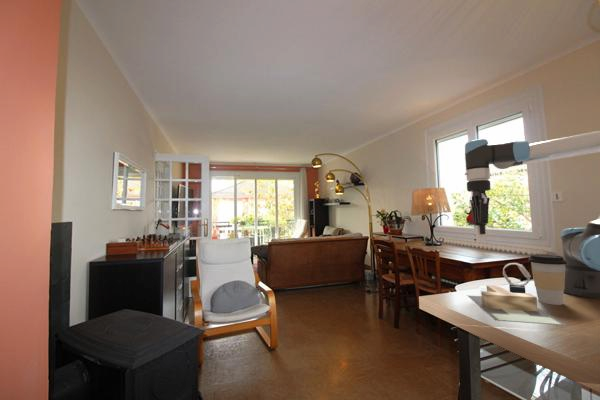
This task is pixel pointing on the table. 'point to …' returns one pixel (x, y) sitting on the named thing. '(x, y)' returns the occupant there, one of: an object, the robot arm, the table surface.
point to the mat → (518, 314)
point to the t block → (508, 299)
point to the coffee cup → (548, 277)
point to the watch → (517, 287)
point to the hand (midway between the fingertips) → (481, 242)
